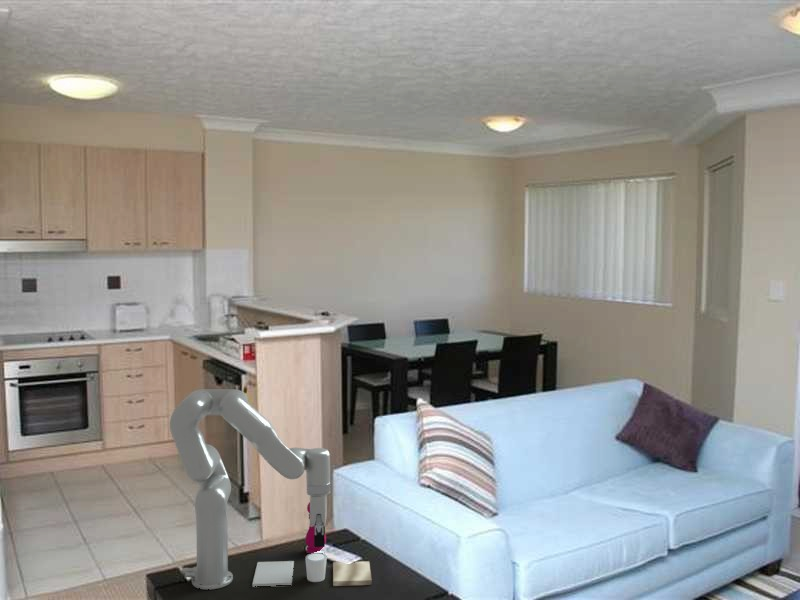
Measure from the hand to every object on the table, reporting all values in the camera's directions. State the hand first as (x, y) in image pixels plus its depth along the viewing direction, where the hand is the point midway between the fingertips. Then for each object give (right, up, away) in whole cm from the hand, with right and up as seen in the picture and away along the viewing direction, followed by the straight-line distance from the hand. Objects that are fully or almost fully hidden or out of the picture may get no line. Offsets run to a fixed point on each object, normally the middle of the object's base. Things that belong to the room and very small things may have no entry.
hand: (319, 540), depth 231 cm
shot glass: (-1, -13, +1) cm, 13 cm away
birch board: (+10, -12, +3) cm, 16 cm away
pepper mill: (-4, -11, +20) cm, 24 cm away
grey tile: (-15, -12, +2) cm, 19 cm away
